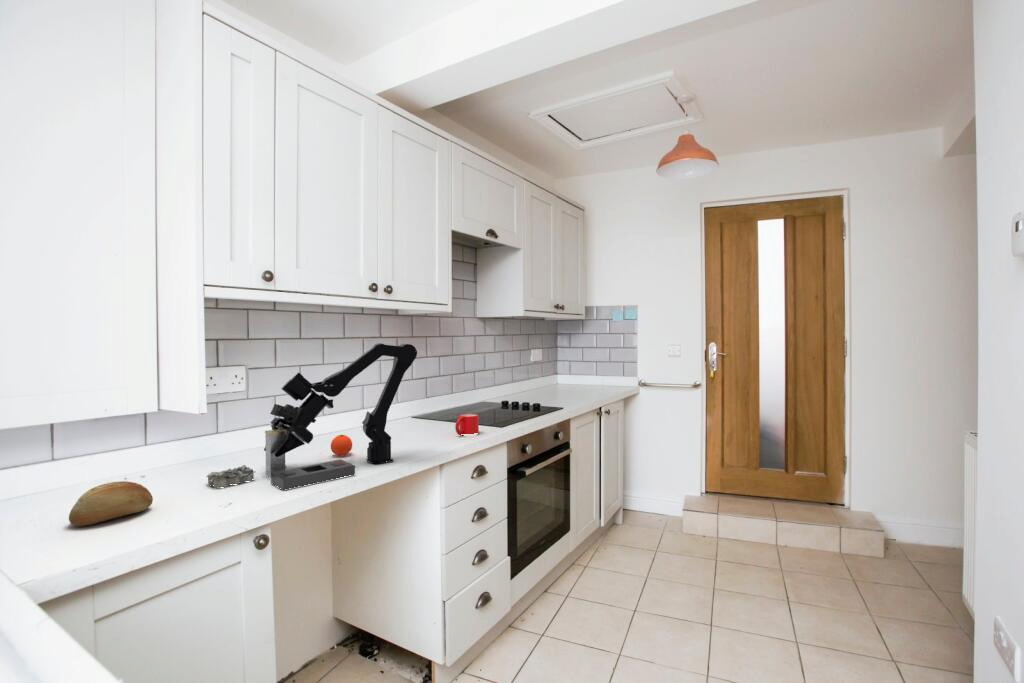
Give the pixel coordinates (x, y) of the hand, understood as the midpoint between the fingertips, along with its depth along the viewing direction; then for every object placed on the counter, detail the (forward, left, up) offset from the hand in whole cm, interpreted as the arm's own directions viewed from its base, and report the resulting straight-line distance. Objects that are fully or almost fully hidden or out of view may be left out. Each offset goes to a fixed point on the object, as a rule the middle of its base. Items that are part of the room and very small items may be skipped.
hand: (270, 453), depth 142 cm
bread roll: (+36, +11, -7) cm, 38 cm away
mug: (-76, -10, -7) cm, 77 cm away
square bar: (-1, 0, -7) cm, 7 cm away
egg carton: (+10, -1, -7) cm, 12 cm away
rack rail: (-8, +11, -7) cm, 15 cm away
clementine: (-25, -11, -7) cm, 29 cm away
